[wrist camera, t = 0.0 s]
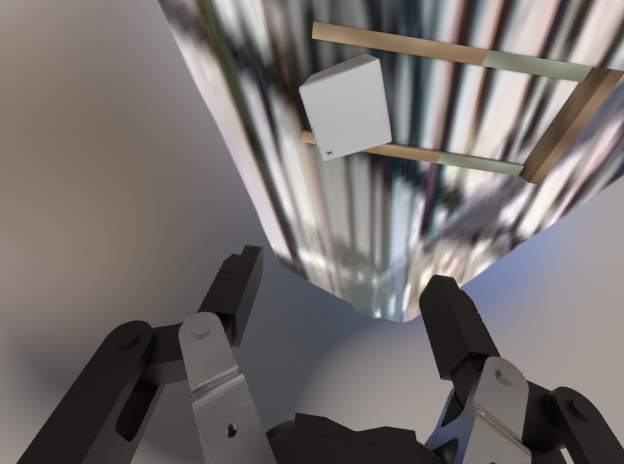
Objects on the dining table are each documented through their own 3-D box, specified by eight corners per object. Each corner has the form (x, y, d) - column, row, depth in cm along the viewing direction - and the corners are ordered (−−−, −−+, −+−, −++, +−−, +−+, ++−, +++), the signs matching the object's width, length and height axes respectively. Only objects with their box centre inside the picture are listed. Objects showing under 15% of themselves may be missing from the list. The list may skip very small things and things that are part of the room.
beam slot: (314, 22, 29) (312, 20, 27) (602, 68, 29) (625, 71, 27) (302, 139, 37) (299, 146, 35) (527, 175, 38) (539, 184, 35)
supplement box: (378, 113, 34) (393, 144, 24) (325, 130, 36) (320, 165, 26) (367, 50, 30) (381, 56, 20) (309, 72, 32) (296, 88, 22)
